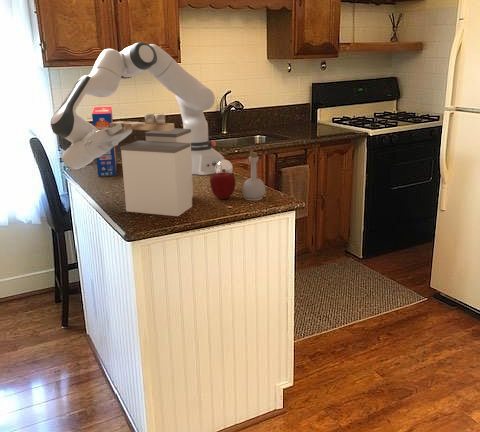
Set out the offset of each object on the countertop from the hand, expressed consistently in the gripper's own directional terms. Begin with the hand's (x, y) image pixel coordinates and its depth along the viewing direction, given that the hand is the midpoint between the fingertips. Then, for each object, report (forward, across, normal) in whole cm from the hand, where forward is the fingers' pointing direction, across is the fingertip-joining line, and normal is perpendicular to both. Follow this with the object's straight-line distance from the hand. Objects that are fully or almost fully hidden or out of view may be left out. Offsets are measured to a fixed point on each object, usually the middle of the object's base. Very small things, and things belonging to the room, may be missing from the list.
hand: (126, 124), depth 181 cm
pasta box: (-52, +51, +4) cm, 73 cm away
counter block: (-5, +6, +31) cm, 32 cm away
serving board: (+5, 0, +4) cm, 6 cm away
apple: (+9, +20, +40) cm, 45 cm away
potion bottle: (+19, +23, +45) cm, 54 cm away
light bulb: (+5, +33, +37) cm, 50 cm away
